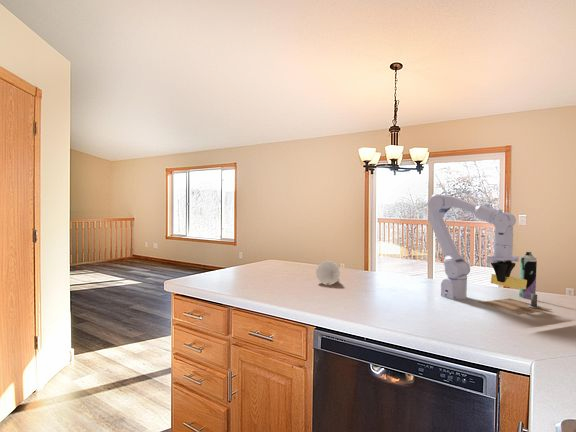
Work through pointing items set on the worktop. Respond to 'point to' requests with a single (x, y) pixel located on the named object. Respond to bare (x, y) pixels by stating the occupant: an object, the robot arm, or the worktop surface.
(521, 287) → the golden square frame
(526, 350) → the worktop surface
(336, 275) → the grey rounded lump
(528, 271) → the spray can
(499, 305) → the board
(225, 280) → the worktop surface
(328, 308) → the worktop surface
